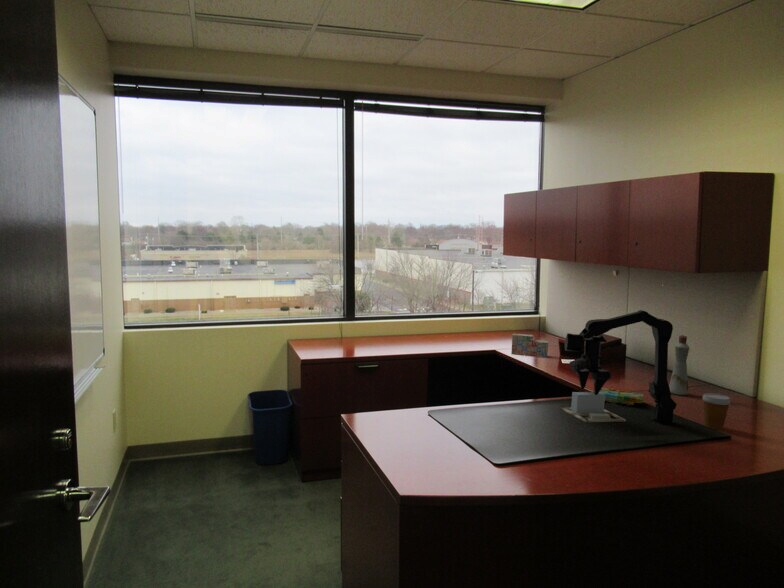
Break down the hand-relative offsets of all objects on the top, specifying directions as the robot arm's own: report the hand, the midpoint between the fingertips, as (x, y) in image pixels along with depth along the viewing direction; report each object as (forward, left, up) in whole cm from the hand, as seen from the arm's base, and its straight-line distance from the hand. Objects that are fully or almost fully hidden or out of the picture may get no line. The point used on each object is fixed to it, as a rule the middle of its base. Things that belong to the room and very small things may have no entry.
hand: (589, 391), depth 229 cm
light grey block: (0, 0, -10) cm, 10 cm away
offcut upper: (-8, 0, -8) cm, 12 cm away
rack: (-4, 0, -10) cm, 10 cm away
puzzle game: (+19, -27, -10) cm, 34 cm away
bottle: (+30, -67, -10) cm, 74 cm away
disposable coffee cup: (-18, -43, -10) cm, 48 cm away
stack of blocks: (+122, -37, -10) cm, 128 cm away
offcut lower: (-8, 0, -10) cm, 13 cm away
